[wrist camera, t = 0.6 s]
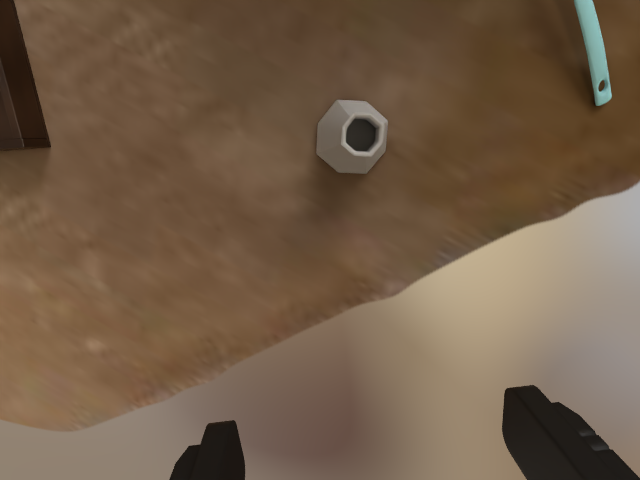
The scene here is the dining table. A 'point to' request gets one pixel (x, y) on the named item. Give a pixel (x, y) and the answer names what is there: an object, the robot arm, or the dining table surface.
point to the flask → (351, 136)
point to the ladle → (594, 49)
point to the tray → (17, 89)
